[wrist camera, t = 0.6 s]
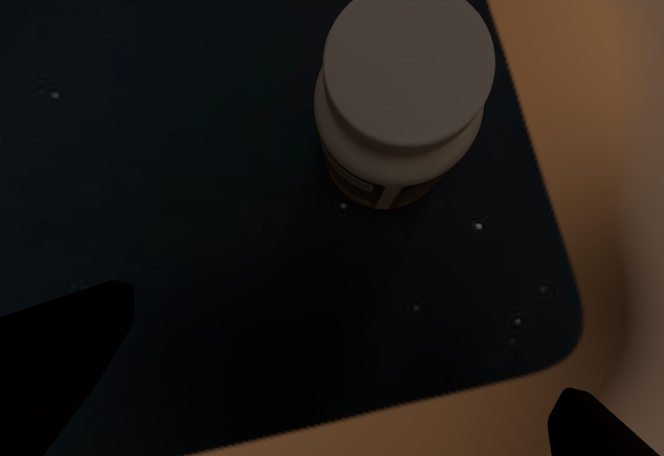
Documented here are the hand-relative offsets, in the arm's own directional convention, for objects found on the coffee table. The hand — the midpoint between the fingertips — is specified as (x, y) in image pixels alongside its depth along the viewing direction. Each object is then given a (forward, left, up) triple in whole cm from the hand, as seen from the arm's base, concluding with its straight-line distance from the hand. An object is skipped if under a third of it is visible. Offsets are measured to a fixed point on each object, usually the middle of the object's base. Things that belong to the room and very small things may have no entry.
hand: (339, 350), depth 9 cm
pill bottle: (+7, 0, -12) cm, 15 cm away
